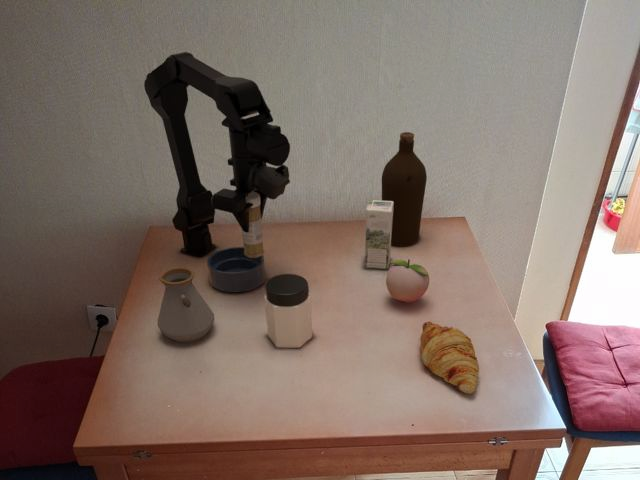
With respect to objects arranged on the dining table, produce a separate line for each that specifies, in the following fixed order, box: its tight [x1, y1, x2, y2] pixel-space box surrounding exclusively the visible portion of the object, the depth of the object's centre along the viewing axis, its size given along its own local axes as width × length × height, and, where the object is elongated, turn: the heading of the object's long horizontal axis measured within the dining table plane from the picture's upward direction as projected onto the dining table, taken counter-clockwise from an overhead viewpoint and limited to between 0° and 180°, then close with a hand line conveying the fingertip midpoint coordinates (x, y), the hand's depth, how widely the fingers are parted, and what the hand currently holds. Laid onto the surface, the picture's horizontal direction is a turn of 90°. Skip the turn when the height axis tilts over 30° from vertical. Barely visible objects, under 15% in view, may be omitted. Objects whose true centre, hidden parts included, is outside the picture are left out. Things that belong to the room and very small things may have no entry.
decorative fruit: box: [385, 259, 430, 303], centre depth 129 cm, size 9×8×10 cm
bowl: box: [206, 246, 267, 293], centre depth 139 cm, size 13×13×5 cm
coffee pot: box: [157, 267, 215, 343], centre depth 117 cm, size 21×12×15 cm, turn 18°
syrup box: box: [364, 199, 394, 271], centre depth 140 cm, size 6×6×14 cm
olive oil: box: [381, 131, 428, 247], centre depth 147 cm, size 11×11×25 cm
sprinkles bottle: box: [241, 192, 265, 258], centre depth 132 cm, size 5×5×14 cm
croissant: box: [419, 321, 480, 394], centre depth 113 cm, size 21×10×8 cm, turn 16°
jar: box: [263, 273, 313, 349], centre depth 119 cm, size 9×8×12 cm
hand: (252, 227), depth 132 cm, fingers closed on sprinkles bottle, 4 cm apart
